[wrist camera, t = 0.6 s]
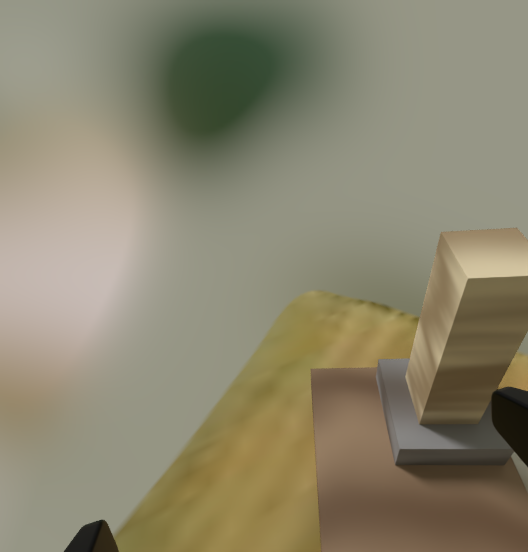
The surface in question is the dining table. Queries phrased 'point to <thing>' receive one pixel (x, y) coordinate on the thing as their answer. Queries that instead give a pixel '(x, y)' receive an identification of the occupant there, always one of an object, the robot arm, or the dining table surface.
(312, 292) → the dining table surface
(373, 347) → the dining table surface
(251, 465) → the dining table surface
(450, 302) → the wooden post with base
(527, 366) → the dining table surface
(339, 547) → the plank
